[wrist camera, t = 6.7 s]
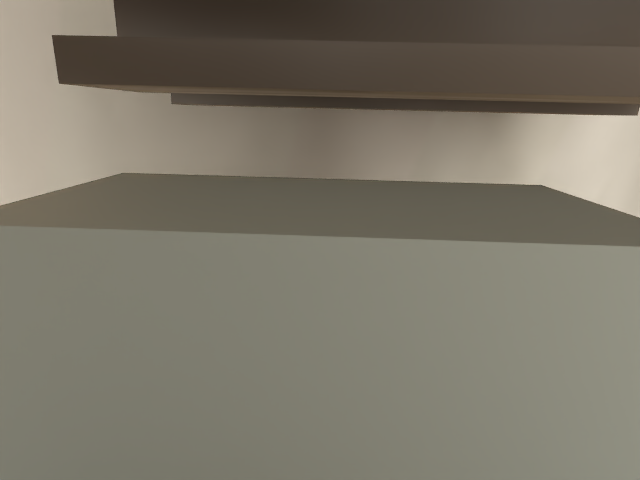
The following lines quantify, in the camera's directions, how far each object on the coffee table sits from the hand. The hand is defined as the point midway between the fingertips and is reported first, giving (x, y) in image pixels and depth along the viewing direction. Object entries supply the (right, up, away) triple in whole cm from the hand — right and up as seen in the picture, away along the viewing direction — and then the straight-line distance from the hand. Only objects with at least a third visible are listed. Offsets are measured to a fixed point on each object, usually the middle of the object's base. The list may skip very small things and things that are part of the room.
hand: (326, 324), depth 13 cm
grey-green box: (0, 0, 0) cm, 0 cm away
